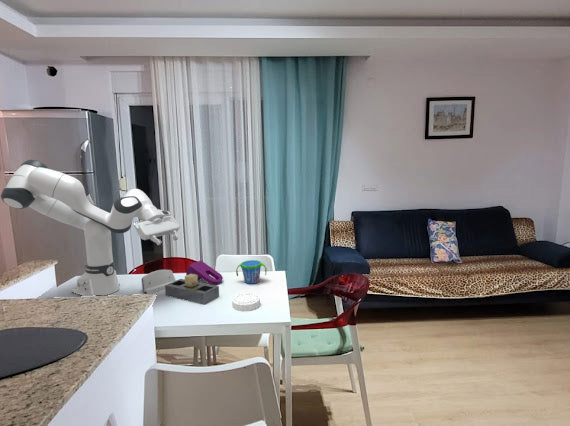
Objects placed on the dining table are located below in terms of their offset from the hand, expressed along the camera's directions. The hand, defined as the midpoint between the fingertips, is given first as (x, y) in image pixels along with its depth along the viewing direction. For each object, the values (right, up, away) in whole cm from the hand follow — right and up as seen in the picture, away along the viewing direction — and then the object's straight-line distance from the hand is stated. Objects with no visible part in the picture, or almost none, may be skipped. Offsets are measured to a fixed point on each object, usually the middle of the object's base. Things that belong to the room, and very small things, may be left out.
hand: (168, 241), depth 153 cm
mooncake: (+35, -28, -3) cm, 45 cm away
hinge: (-11, -25, +20) cm, 34 cm away
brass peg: (+8, -26, +9) cm, 29 cm away
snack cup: (+34, -23, +26) cm, 49 cm away
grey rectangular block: (+8, -26, +9) cm, 29 cm away
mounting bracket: (+11, -24, +28) cm, 38 cm away
